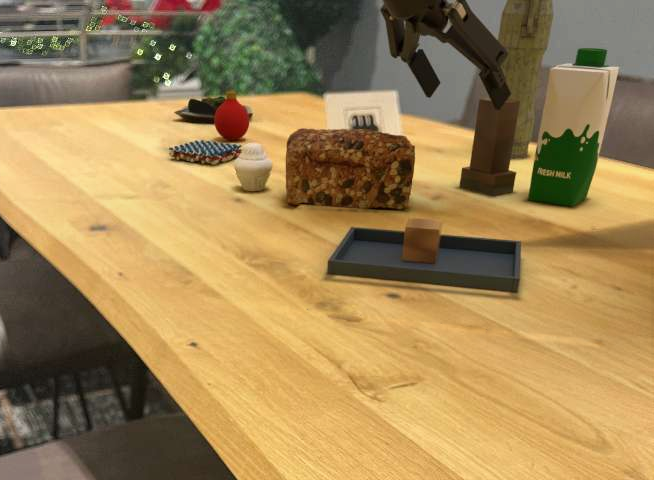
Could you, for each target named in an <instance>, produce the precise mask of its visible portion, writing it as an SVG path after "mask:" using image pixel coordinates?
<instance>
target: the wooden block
mask: <svg viewBox="0 0 654 480" xmlns="http://www.w3.org/2000/svg"><path fill="white" fill-rule="evenodd" d="M443 221H444V220H441V219H428V218H416V217H409V218H408V220H407V222H406V224H405V227H404V231H405V234H404V243H403V253H402V261H412V262H423V263H434V264H435V263H436V259H437V256H438V253H439V246H440V238H441V234H442V229H443Z"/></svg>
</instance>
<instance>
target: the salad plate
mask: <svg viewBox="0 0 654 480" xmlns="http://www.w3.org/2000/svg"><path fill="white" fill-rule="evenodd" d="M225 100H226V97H225V96H223V95H219V96H217V97H216V96H211V97H210V96H207V97H206V98H201V100H199V99H196V98H190V99H189V100H188V104H187V105H186V106H183V107H182V108H181V109H179V110H176V111H174V112H173V113H174V114H175V115H176V116H179V117H180V118H182V119H183V120H184V121H185V122H187V123H191V124H192V123H193V124H201V125H202V124H207V125H208V124H211V125H215V124H214V117H215V113H216V111H217V109H218V108H219V106H220V105H222V104H223V103H224V102H225ZM241 105H242V106H244V108H245V109H246V110H247V112H248V115H249V120H250V119H251V118H252V117H253V114H254V113H253V109H252V107H251V106H249V105H243V104H241Z"/></svg>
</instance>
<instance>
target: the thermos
mask: <svg viewBox="0 0 654 480" xmlns="http://www.w3.org/2000/svg"><path fill="white" fill-rule="evenodd" d="M553 19H554V6H553V0H506V1H505V5H504V8H503V10H502V12H501V17H500V24H499V28H498V29H499V30H498V37H497V40H498V41H499V43H500V44H501V45H502V46H503V47H504V48H505V49H506V50H507V52H508V56H507V58H506V59H505V61H504V62H503V63H502V65H501V66H500V67H501V69H502V71H503V73H504V75H505V78H506V80H505V81H506V84H507V86H508V88H509V90H510V92H511V95H510V96H509V99H515V100H520V101H521V102H520V108H519V113H518V119H517V125H516V131H515V137H514V142H513V148H512V154H511V160H515V159H523V158H527V157H528V152H529V146H530V142H531V141H532V136H533V130H534V125H535V119H536V117H535V116H536V115H535V111H534V108H535V103H536V97H537V91H538V86H539V80H540V77H541V75H540V74H541V69H542V64H543V59H544V55H545V53H546V51H547V50H548V46H549V41H550V36H551V30H552V25H553Z"/></svg>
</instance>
